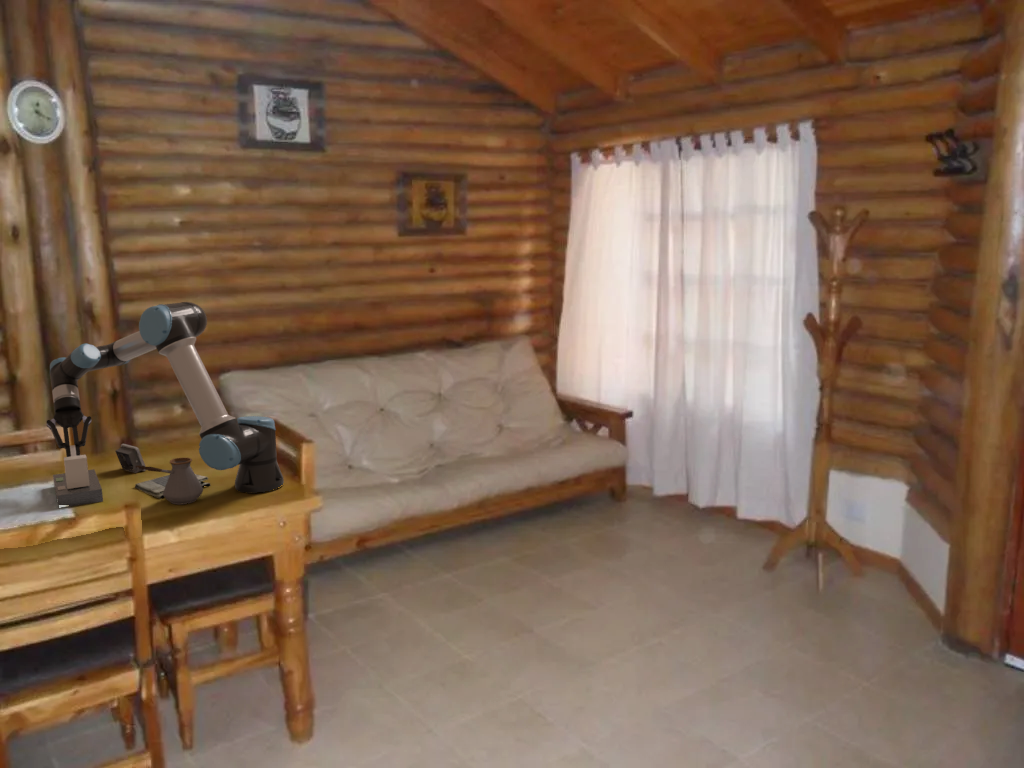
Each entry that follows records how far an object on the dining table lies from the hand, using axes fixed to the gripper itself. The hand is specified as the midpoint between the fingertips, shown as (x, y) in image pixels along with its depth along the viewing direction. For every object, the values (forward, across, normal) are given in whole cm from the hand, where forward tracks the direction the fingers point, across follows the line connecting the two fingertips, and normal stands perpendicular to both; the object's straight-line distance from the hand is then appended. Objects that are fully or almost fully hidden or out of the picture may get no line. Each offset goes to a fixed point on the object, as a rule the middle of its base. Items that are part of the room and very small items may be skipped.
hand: (74, 465), depth 253 cm
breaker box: (+6, 0, -8) cm, 10 cm away
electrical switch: (-7, -18, -22) cm, 29 cm away
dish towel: (+11, -27, -3) cm, 30 cm away
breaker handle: (+6, 0, -2) cm, 7 cm away
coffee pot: (+23, -24, +10) cm, 35 cm away
